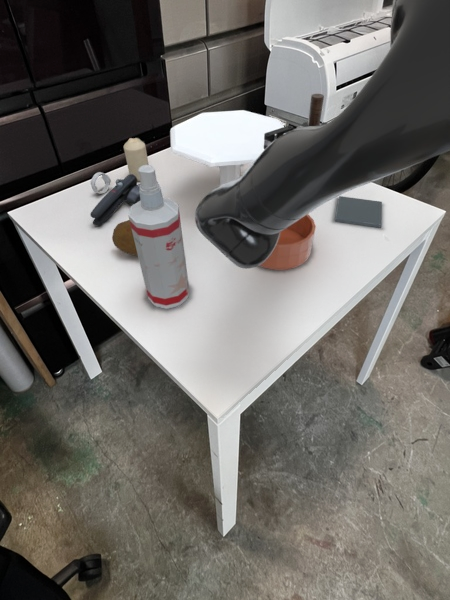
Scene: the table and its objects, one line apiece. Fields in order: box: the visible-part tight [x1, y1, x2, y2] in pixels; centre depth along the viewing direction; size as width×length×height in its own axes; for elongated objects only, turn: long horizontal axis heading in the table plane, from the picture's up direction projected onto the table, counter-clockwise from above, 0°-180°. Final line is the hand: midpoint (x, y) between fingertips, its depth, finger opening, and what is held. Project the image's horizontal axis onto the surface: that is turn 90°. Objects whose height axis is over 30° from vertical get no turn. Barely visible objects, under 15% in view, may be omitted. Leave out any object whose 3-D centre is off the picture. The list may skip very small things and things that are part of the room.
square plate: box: [334, 195, 383, 229], centre depth 87 cm, size 10×10×1 cm
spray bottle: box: [127, 164, 190, 310], centre depth 61 cm, size 8×8×25 cm
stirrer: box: [307, 93, 325, 127], centre depth 65 cm, size 4×4×14 cm
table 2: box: [169, 109, 285, 186], centre depth 87 cm, size 28×28×17 cm
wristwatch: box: [90, 171, 112, 195], centre depth 95 cm, size 3×5×5 cm, turn 149°
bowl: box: [259, 214, 317, 271], centre depth 77 cm, size 14×14×6 cm
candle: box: [123, 137, 150, 182], centre depth 98 cm, size 6×6×10 cm
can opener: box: [90, 174, 141, 227], centre depth 89 cm, size 18×7×6 cm, turn 152°
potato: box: [111, 219, 138, 256], centre depth 77 cm, size 8×12×8 cm, turn 100°
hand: (317, 127), depth 66 cm, fingers closed on stirrer, 2 cm apart
